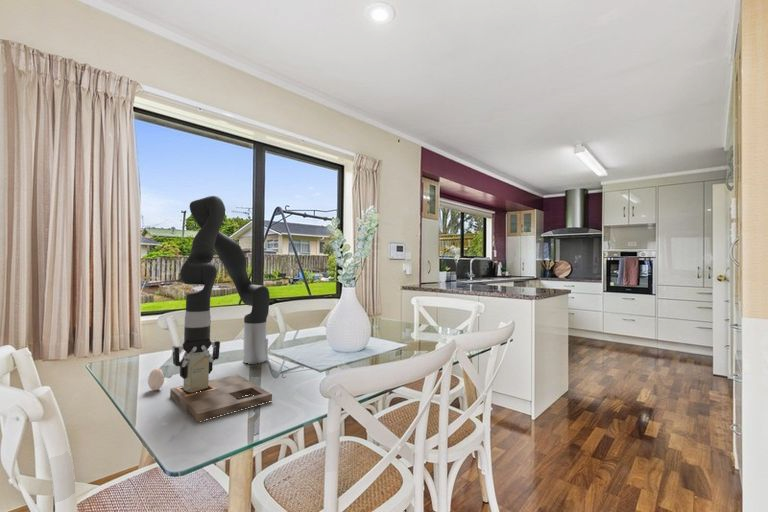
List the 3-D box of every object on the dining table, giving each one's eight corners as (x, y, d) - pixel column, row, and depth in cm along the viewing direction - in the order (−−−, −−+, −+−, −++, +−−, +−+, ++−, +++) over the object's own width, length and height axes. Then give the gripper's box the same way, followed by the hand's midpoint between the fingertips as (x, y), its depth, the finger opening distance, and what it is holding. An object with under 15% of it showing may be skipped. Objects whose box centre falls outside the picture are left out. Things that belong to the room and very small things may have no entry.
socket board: (237, 381, 135) (237, 373, 135) (271, 402, 116) (272, 393, 116) (170, 396, 119) (170, 387, 119) (197, 423, 101) (197, 413, 101)
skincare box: (190, 393, 115) (191, 354, 115) (182, 390, 118) (183, 352, 118) (209, 387, 121) (210, 350, 121) (201, 384, 123) (202, 348, 123)
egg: (145, 393, 121) (145, 370, 121) (151, 388, 126) (151, 366, 126) (160, 392, 122) (161, 370, 122) (166, 387, 127) (166, 365, 127)
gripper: (216, 320, 127) (214, 368, 127) (169, 325, 117) (168, 377, 117) (224, 323, 122) (223, 373, 121) (176, 328, 111) (175, 383, 111)
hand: (196, 375), depth 119 cm, fingers closed on skincare box, 7 cm apart
